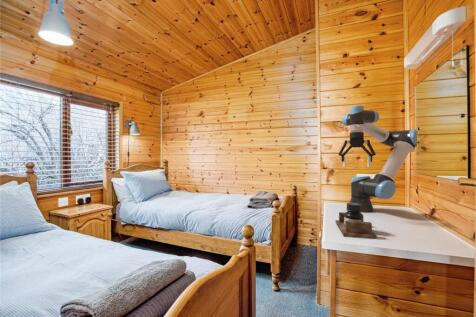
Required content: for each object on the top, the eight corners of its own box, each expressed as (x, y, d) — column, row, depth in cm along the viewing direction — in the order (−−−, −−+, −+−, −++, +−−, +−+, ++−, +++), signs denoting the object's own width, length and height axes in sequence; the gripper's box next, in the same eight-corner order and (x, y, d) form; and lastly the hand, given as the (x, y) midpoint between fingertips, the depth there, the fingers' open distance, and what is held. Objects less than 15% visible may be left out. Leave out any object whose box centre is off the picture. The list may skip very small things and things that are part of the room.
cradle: (362, 224, 130) (362, 212, 129) (376, 238, 108) (376, 224, 108) (335, 222, 133) (335, 211, 133) (343, 236, 111) (343, 222, 111)
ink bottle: (340, 226, 121) (340, 203, 121) (347, 223, 127) (347, 201, 127) (360, 231, 114) (360, 206, 113) (367, 227, 120) (367, 203, 119)
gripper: (335, 132, 140) (335, 167, 140) (382, 130, 134) (381, 167, 135) (333, 133, 147) (333, 166, 148) (377, 131, 141) (377, 166, 142)
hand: (356, 167), depth 141 cm, fingers open, 13 cm apart
